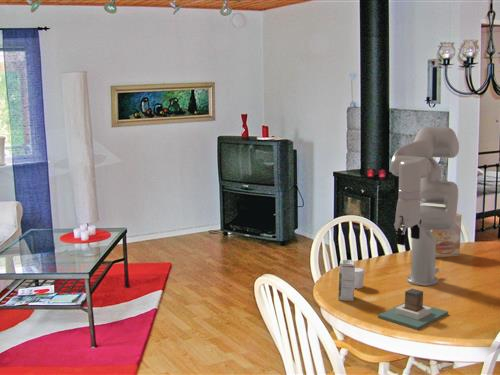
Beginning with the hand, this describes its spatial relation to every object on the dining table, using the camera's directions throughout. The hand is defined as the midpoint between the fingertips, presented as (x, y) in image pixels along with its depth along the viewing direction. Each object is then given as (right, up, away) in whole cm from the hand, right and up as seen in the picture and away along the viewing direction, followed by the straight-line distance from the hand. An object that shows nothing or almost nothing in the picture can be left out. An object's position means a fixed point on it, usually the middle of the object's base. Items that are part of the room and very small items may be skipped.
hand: (408, 241), depth 241 cm
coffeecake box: (+33, -12, +72) cm, 80 cm away
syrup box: (-20, -23, +15) cm, 34 cm away
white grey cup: (-14, -21, +29) cm, 38 cm away
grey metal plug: (+1, -25, -3) cm, 25 cm away
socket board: (+1, -26, -3) cm, 26 cm away
